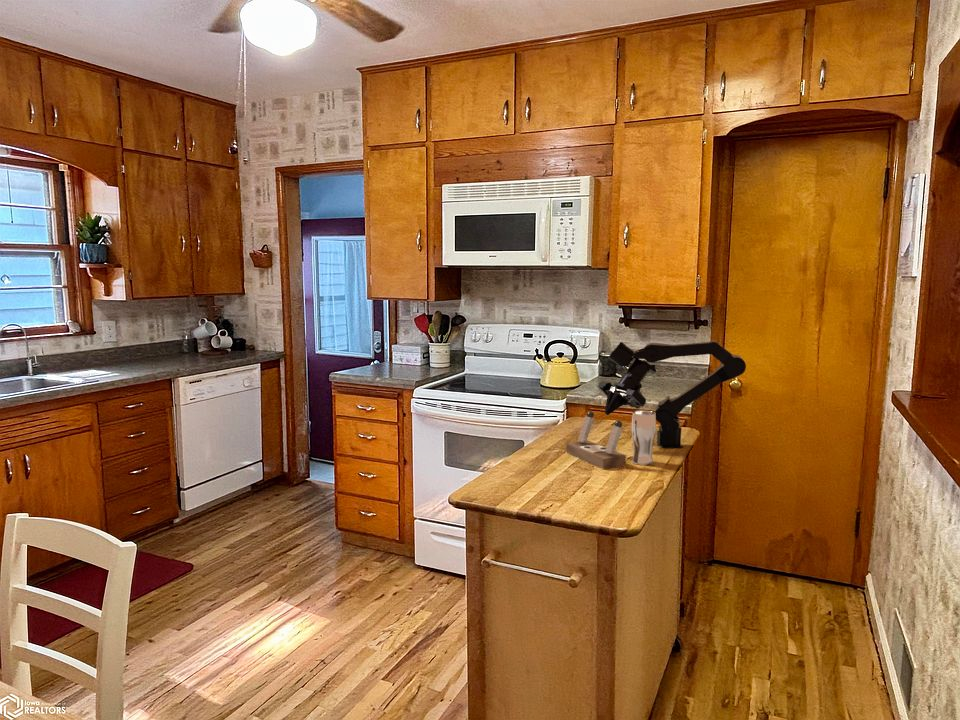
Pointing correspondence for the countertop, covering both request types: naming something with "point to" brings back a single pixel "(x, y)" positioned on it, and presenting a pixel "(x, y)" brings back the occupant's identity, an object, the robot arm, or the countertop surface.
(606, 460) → the switch box
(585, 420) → the lever
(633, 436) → the beer glass
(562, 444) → the countertop surface
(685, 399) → the robot arm
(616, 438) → the lever
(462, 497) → the countertop surface
